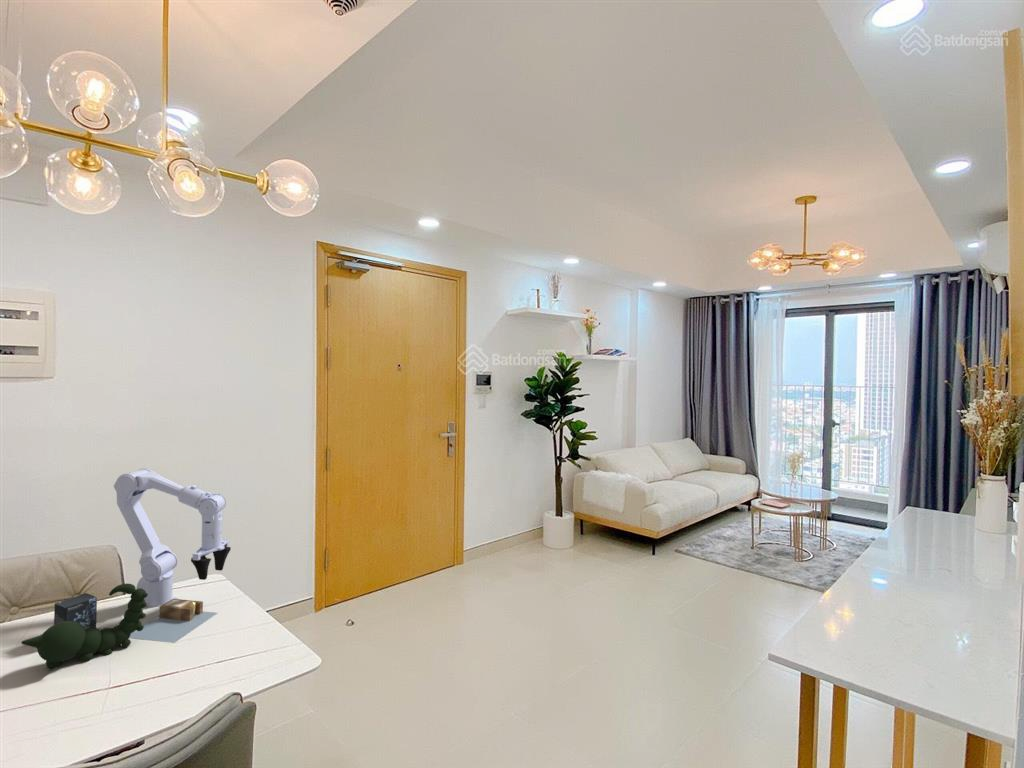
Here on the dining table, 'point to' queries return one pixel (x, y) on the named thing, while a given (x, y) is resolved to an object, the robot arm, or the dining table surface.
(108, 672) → the dining table surface
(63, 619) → the box
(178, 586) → the dining table surface
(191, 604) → the peg
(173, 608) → the wooden holder
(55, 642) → the toy figurine
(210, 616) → the board
